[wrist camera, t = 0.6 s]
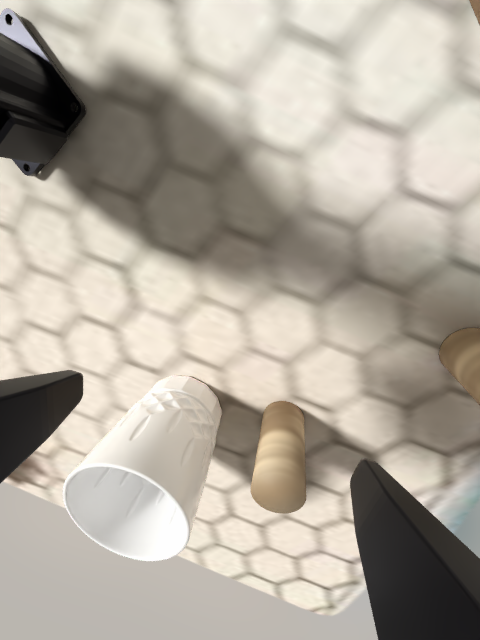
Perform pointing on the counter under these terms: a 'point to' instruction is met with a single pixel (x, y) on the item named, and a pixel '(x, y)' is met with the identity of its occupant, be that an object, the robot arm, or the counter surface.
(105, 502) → the white cup
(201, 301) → the counter surface
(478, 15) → the walnut socket block
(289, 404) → the short oak dowel
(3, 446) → the robot arm
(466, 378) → the tall oak dowel
